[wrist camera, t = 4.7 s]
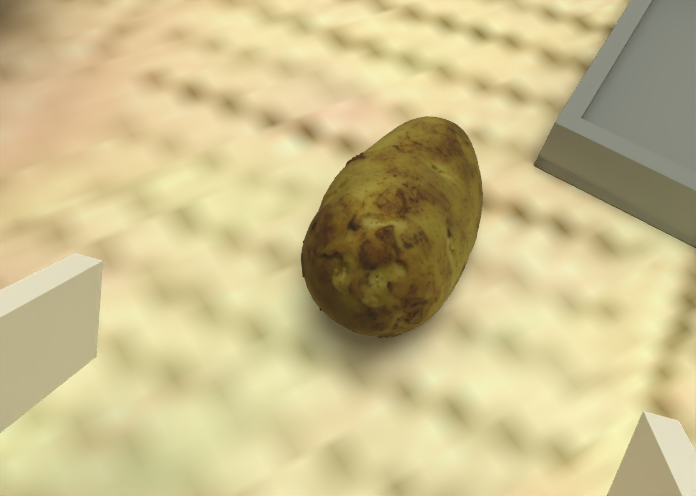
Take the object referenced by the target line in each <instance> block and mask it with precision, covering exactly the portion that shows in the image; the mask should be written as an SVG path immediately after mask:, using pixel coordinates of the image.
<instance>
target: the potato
mask: <svg viewBox="0 0 696 496" xmlns="http://www.w3.org/2000/svg"><path fill="white" fill-rule="evenodd" d="M482 201H483V192H482V181H481V175H480V170H479V166H478V161H477V157H476V154H475V151H474V148H473V146H472V143H471V141H470V139H469V137H468V136H467V134H466V133H465V132H464V130H462V129H461V128H460V127H459V126H458V125H456V124H455V123H453V122H451V121H448V120H446V119H442V118H438V117H421V118H416V119H413V120H410V121H408V122H405V123H404V124H402V125H400V126H398V127H397V128H395V129H394V130H392V131H391V132H390V133H388V134H387V135H385V136H384V137H383V138H382V139H380V140H379V141H378V142H376V143H375V144H374V145H373V146H371V147H370V148H369V149H367V150H366V151H365V152H364V153H363V152H362V153H360V155H358V156H357V155H356V157H353V158H352V160H349V161H348V162H347V163H346V166H345V168H343V169H342V170H341V172H340V173H339V174H338V175H337V176H336V177H335V179H334V180H333V182H332V183H331V185H330V187H329V188H328V190H327V192H326V194H325V195H324V197H323V200H322V203H321V206H320V208H319V211H318V212H317V214H316V215H315V217H314V219H313V220H312V222H311V224H310V226H309V228H308V231H307V234H306V236H305V239H304V241H303V247H302V253H301V263H302V274H303V277H304V278H305V281H306V285H307V288H308V290H309V292H310V294H311V296H312V298H313V299H314V301H315V302H316V304H317V305H318V306H319V308H320V310H321V311H323V312H325V314H327V315H328V316H329V317H330V318H332V319H333V320H335V321H336V322H337V323H339V324H340V325H342V326H344V327H346V328H348V329H350V330H352V331H354V332H357V333H360V334H364V335H370V336H377V337H379V338H381V337H391V336H392V337H393V336H396V335H400V334H401V333H403V332H406V331H408V330H410V329H413V328H415V327H417V326H419V325H421V324H422V323H424V322H425V321H426V320H428V319H429V318H430V317H431V316H433V315H434V314H435V313H436V312H437V311H438V309H439V308H440V307H441V306H442V305H443V304H444V302H445V301H446V299H447V298H448V297H449V295H450V294H451V292H452V290H453V289H454V287H455V285H456V284H457V282H458V280H459V278H460V277H461V275H462V272H463V270H464V268H465V265H466V263H467V260H468V257H469V254H470V252H471V251H472V249H473V246H474V243H475V241H476V238H477V232H478V228H479V223H480V218H481V212H482Z"/></svg>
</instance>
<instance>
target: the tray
mask: <svg viewBox="0 0 696 496" xmlns="http://www.w3.org/2000/svg"><path fill="white" fill-rule="evenodd" d="M534 166H536V167H538V168H540V169H542V170H544V171H546V172H548V173H550V174H552V175H554V176H556V177H558V178H560V179H562V180H564V181H566V182H568V183H570V184H572V185H574V186H575V187H577V188H579V189H581V190H583V191H585V192H587V193H589V194H591V195H593V196H595V197H597V198H599V199H601V200H603V201H605V202H607V203H609V204H611V205H613V206H615V207H617V208H619V209H621V210H623V211H625V212H627V213H629V214H631V215H633V216H635V217H637V218H639V219H641V220H642V221H644V222H646V223H648V224H650V225H652V226H654V227H656V228H658V229H660V230H662V231H664V232H666V233H668V234H670V235H672V236H674V237H676V238H678V239H680V240H682V241H684V242H686V243H688V244H690V245H692V246H694V247H696V0H631V2H630V3H629V5H628V6H627V8H626V10H625V11H624V13H623V14H622V16H621V18H620V19H619V21H618V22H617V24H616V26H615V27H614V29H613V30H612V32H611V34H610V35H609V37H608V38H607V40H606V42H605V43H604V45H603V46H602V48H601V50H600V51H599V53H598V54H597V56H596V58H595V59H594V61H593V62H592V64H591V66H590V67H589V69H588V70H587V72H586V74H585V75H584V77H583V78H582V80H581V82H580V83H579V85H578V86H577V88H576V90H575V91H574V93H573V94H572V96H571V98H570V99H569V101H568V102H567V104H566V106H565V107H564V109H563V110H562V112H561V114H560V115H559V117H558V118H557V120H556V122H555V123H554V126H553V128H552V130H551V132H550V134H549V136H548V138H547V140H546V142H545V144H544V146H543V148H542V150H541V152H540V154H539V156H538V158H537V160H536V162H535V164H534Z"/></svg>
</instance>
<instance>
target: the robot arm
mask: <svg viewBox="0 0 696 496" xmlns="http://www.w3.org/2000/svg"><path fill="white" fill-rule="evenodd" d="M102 267H103V261H102V260H99V259H95V258H91V257H88V256H84V255H81V254H77V253H74V254H72V255H70V256H68V257H66V258H64V259H62V260H60V261H58V262H56V263H54V264H52V265H50V266H48V267H46V268H44V269H42V270H40V271H37V272H35V273H33V274H31V275H29V276H27V277H25V278H23V279H21V280H19V281H17V282H15V283H13V284H11V285H9V286H7V287H5V288H3V289H1V290H0V433H1V432H2V431H3V430H5V429H6V428H7V427H8V426H10V425H11V424H12V423H13V422H15V421H16V420H17V419H18V418H20V417H21V416H22V415H24V414H25V413H26V412H27V411H29V410H30V409H31V408H32V407H34V406H35V405H36V404H37V403H39V402H40V401H41V400H42V399H44V398H45V397H46V396H47V395H49V394H50V393H51V392H52V391H54V390H55V389H56V388H57V387H59V386H60V385H61V384H63V383H64V382H65V381H66V380H68V379H69V378H70V377H71V376H73V375H74V374H75V373H76V372H78V371H79V370H80V369H81V368H83V367H84V366H85V365H86V364H88V363H89V362H90V361H91V360H93V359H94V358H95V357H96V353H97V338H98V324H99V310H100V295H101V281H102ZM607 496H696V452H695V450H694V448H693V446H692V444H691V442H690V440H689V439H688V437H687V435H686V433H685V431H684V429H683V428H682V426H681V424H680V422H679V421H678V420H674V419H670V418H667V417H663V416H660V415H656V414H652V413H649V412H645V411H643V413H642V415H641V417H640V420H639V422H638V424H637V427H636V429H635V431H634V434H633V436H632V438H631V441H630V443H629V445H628V448H627V450H626V452H625V455H624V457H623V459H622V462H621V464H620V466H619V469H618V471H617V473H616V476H615V478H614V480H613V483H612V485H611V487H610V490H609V492H608V494H607Z"/></svg>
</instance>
